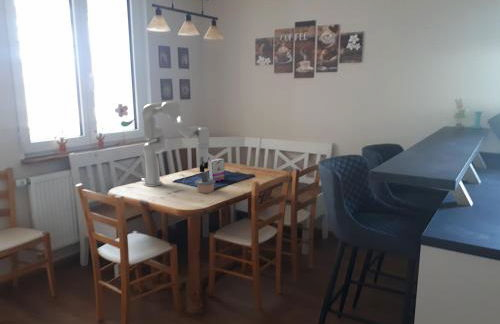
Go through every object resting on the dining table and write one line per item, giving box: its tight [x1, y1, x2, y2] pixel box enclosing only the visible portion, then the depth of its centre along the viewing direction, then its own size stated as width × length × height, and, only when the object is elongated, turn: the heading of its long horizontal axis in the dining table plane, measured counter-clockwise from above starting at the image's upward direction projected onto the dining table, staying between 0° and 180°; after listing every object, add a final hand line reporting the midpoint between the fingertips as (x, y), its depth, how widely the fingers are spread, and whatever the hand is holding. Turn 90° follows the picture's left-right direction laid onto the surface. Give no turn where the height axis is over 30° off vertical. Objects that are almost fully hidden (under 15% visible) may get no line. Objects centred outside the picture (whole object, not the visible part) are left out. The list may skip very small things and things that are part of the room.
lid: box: [194, 171, 216, 185], centre depth 273 cm, size 14×14×7 cm
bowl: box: [196, 183, 215, 194], centre depth 274 cm, size 11×11×6 cm
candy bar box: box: [208, 158, 226, 183], centre depth 299 cm, size 11×5×16 cm, turn 129°
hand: (203, 170), depth 272 cm, fingers open, 9 cm apart
